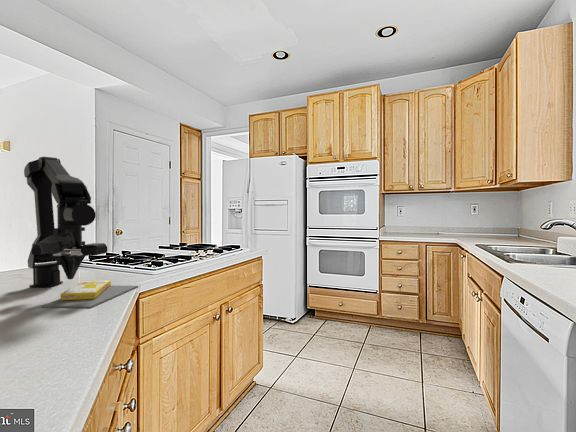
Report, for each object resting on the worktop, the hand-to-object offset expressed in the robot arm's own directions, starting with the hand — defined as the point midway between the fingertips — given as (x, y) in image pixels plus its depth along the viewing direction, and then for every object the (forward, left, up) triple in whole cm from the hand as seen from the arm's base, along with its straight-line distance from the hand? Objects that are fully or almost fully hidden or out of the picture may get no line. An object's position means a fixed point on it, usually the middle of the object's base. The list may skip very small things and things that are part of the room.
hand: (70, 279), depth 93 cm
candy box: (0, 0, -3) cm, 3 cm away
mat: (+7, 0, -5) cm, 9 cm away
